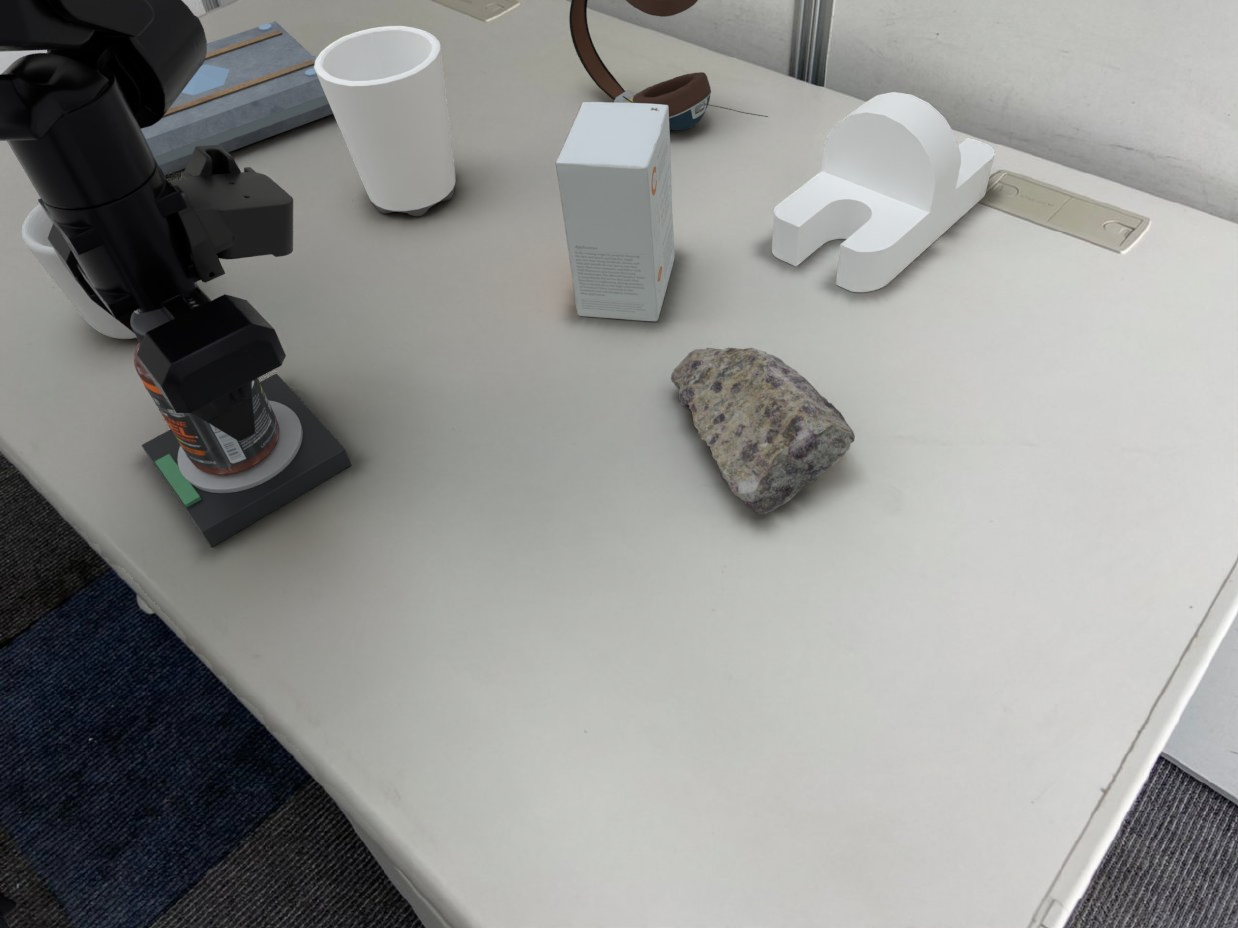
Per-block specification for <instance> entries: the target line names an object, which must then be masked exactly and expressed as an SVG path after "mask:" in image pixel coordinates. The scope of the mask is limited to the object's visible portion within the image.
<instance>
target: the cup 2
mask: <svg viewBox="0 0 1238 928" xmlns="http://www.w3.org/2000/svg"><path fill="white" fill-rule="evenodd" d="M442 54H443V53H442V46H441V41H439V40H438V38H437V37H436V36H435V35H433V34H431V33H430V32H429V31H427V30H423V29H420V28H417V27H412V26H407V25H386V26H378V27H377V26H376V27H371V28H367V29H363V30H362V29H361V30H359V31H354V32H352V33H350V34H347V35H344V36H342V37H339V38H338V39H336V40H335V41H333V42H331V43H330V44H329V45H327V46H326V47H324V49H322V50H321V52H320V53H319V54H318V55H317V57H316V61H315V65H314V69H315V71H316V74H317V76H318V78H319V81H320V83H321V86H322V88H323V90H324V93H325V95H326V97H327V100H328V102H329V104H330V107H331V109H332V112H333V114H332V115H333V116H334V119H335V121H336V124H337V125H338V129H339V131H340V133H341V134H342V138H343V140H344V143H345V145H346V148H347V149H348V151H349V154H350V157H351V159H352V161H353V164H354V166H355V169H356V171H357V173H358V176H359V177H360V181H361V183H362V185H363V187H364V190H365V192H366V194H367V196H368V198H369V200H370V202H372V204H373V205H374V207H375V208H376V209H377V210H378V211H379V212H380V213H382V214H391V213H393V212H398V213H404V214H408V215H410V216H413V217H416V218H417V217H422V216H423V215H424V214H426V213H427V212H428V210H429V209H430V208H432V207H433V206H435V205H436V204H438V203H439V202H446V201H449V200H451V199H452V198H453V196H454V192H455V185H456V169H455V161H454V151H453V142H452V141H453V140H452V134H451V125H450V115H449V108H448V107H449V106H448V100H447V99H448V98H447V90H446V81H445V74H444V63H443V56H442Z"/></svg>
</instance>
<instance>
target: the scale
mask: <svg viewBox="0 0 1238 928" xmlns="http://www.w3.org/2000/svg"><path fill="white" fill-rule="evenodd" d="M259 382H260V384H261V386H262V389H263V391H264V393H265V395H266V397H267V399H268V401H269V403H270V405H271V408H272V410H273V412H274V414H275V416H276V419H277V422H278V425H279V439H278V442H277V445H276V446H275V448H274V449H273V451H272V452H271V453H270V455H269V456H268V457H267V458H265V459H264V460H263V461H262V462H261V463H260V464H258V465H256V466H254V467H252V468H250V469H248V470H246V471H243V472H239V473H237V474H231V475H213V474H208V473H205V472H203V471H201V470H199V469H198V468H196V467H195V466H194V465H193V463H192V462H191V461H190V460H189V458H188V457H187V455H186V454H185V452H184V451H183V449H182V447H181V446H180V444H179V442H178V440H177V439H176V437H175V435H174V434H173V433H172V431H171V429H169V430H167V431H165V432H163V433H161V434H159V435H158V436H155V437H154V438H152V439H150V440H148V441H146V442H144V443H142V444H141V447H142V449H143V450H144V452H145V454H146V455H147V457H148V458H149V460H150V462H151V463H152V464H153V465H154V467H155V468H156V470H157V471H158V473H159V474H160V475H161V477H162V479H163V480H164V481H165V483H166V485H167V486H168V487H169V489H170V490H171V491H172V493H173V494H174V497H175V498H176V499H177V500H178V501H179V503H180V504H181V506H182V507H183V509H184V510H185V512H186V513H187V514H188V516H189V517H190V519H191V521H192V522H193V523H194V524H195V526H196V527H197V529H198V531H199V532H200V533H201V534H202V536H203V538H204V539H205V540H206V542H207V543H208V545H209V546H210V548H213V547H215V546H217V545H219V544H220V543H222V542H224V541H225V540H227V539H228V538H231V537H232V536H234V535H236V534H237V533H239V532H241V531H242V530H244V529H245V528H247V527H249V526H251V525H252V524H254V523H256V522H257V521H259V520H261V519H263V518H264V517H266V516H268V515H269V514H271V513H273V512H274V511H276V510H278V509H279V508H282V507H283V506H285V505H287V504H288V503H291V502H292V501H293V500H295V499H296V498H298V497H301V495H303V494H306V492H308V491H310V490H312V489H313V488H315V487H317V486H319V485H320V484H322V483H324V482H325V481H327V480H329V479H330V478H332V477H334V476H336V475H337V474H339V473H341V472H343V471H344V470H345V469H347V468H349V467H351V466H352V462H351V459H350V457H349V455H348V452H347V450H346V448H345V447H344V445H342V444H341V442H339V440H338V439H337V437H336V436H334V435H333V434H332V433H331V431H330V430H329V429H328V428H327V426H325V425H324V424H323V423H322V422H321V420H320V419H319V418H318V417H317V416H316V415H315V414H314V413H313V412H312V410H310V408H309V407H308V406H307V405H306V404H305V403H304V402H303V400H301V398H300V397H299V395H297V394H296V393H295V392H294V390H292V388H291V387H290V386H289V385H288V384H287V383H286V381H284V380H283V379H282V378H281V376H280V375H279V374H278V373H274V374H272V375H270V376H269V377H266V378H265V379H263V380H261V381H259Z"/></svg>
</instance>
